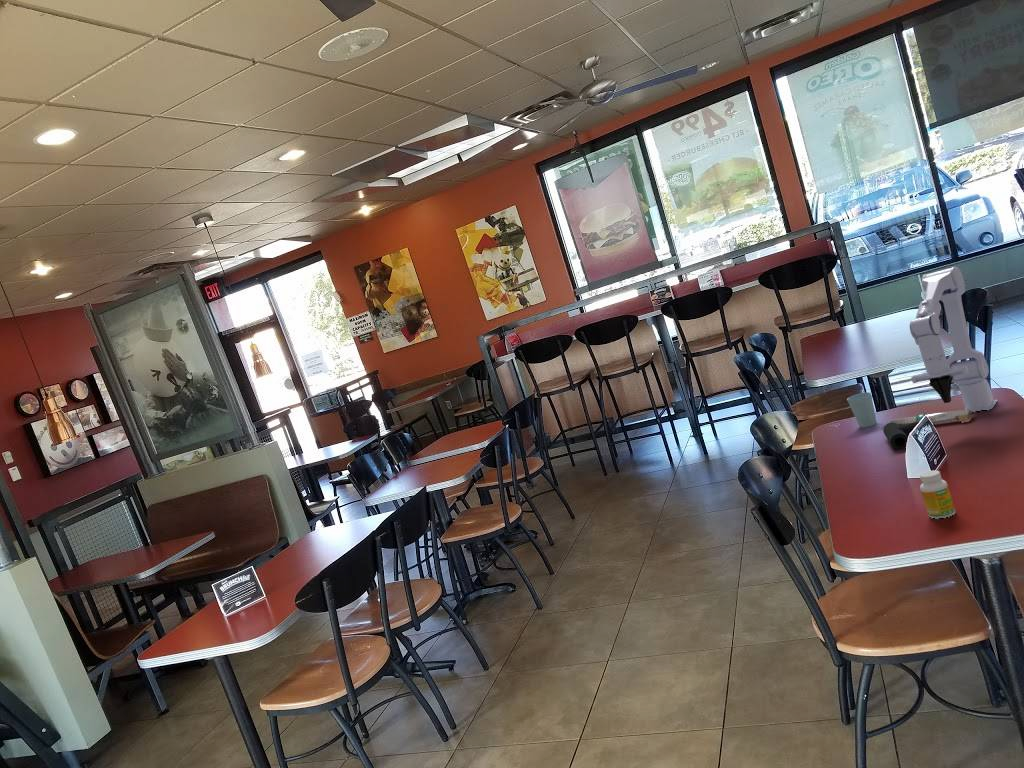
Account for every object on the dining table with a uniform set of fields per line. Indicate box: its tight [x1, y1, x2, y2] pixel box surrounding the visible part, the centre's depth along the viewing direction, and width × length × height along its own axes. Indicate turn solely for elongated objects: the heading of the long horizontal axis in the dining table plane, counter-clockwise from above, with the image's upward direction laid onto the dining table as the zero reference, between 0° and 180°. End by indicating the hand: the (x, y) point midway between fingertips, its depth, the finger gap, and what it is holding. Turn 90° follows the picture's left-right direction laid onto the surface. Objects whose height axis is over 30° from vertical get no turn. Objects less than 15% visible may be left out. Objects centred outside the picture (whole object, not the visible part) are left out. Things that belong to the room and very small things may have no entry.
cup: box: [846, 392, 877, 429], centre depth 260 cm, size 8×8×10 cm
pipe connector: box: [882, 420, 920, 451], centre depth 229 cm, size 12×5×15 cm
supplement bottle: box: [919, 470, 957, 520], centre depth 169 cm, size 5×5×10 cm
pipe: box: [889, 408, 974, 426], centre depth 236 cm, size 22×5×4 cm, turn 47°
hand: (947, 401), depth 221 cm, fingers closed
